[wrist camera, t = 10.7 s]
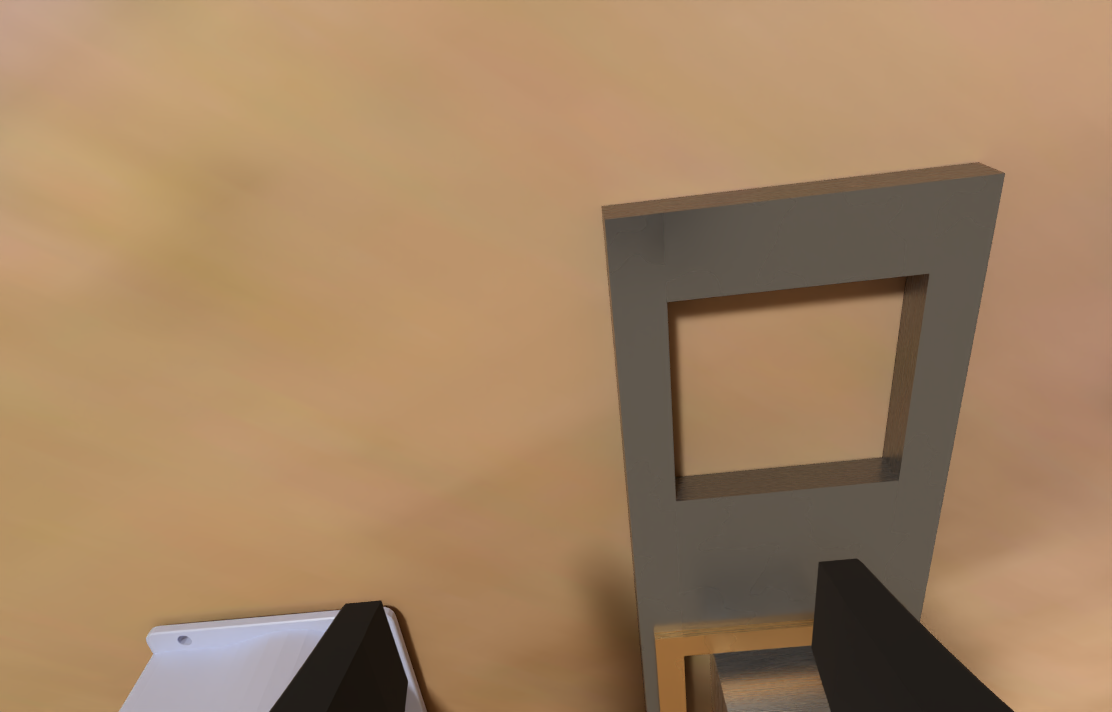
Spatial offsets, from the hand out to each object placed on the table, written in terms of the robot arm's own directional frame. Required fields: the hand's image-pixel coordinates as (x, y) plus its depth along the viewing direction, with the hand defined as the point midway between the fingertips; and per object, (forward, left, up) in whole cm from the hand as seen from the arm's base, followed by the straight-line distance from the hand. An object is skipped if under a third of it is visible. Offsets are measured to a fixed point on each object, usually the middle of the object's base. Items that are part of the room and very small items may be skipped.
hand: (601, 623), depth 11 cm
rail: (+6, -9, -10) cm, 15 cm away
